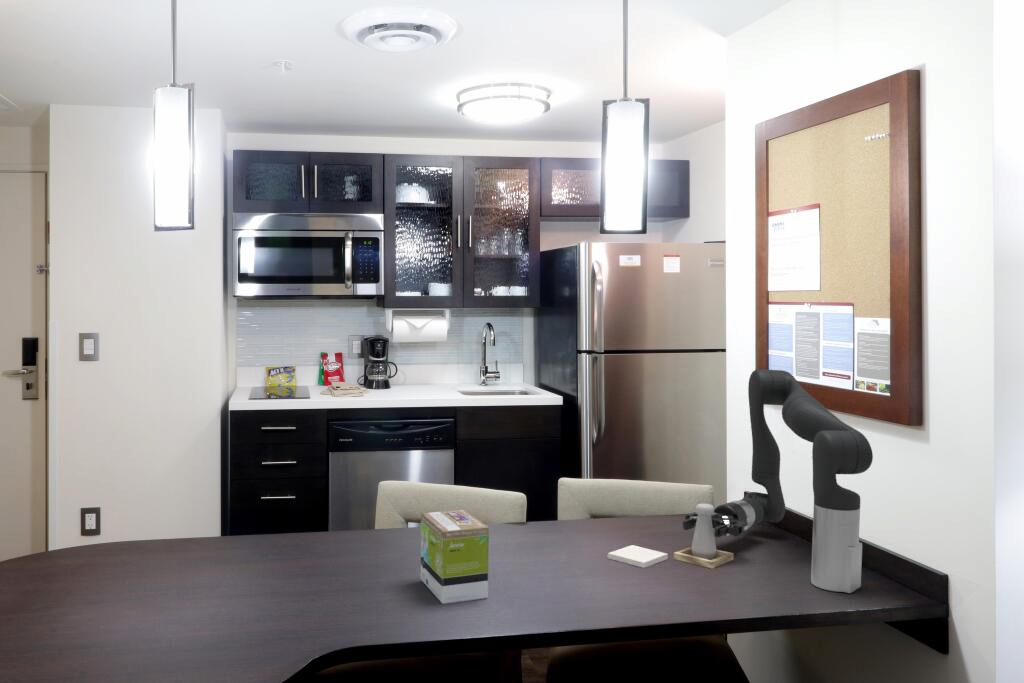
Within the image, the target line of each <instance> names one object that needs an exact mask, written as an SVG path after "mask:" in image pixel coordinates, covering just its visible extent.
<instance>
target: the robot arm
mask: <svg viewBox="0 0 1024 683" xmlns="http://www.w3.org/2000/svg"><path fill="white" fill-rule="evenodd" d="M747 387H748V391H747V393H748V404H749V405H748V406H749V407H748V408H749V419H750V420H749V421H750V430H751V439H752V458H751V460H752V461H751V480H752V482H753V483H754V484H757V485H760V486H762V487H763V488H764V489H765V491H766V493H763V492H757V491H751V492H747V493H746V494H745V495H744V496H743V498H742V499H739V500H734V501H730V502H726V503H724V504H720V505H717V506H716V507H714V514H713V515H712V516H711V518H712V525H713V531H714V538H721V537H722V536H725V537H730V536H733V537H735V538H737V537H740V536H742V535H744V534H747V533H748V529H750V528H752V527H754V526H757V525H758V524H759V523H761V522H762V521H764V522H768V523H769V522H770V523H775V524H776V523H779V522H780V521H781V520H783V519H784V516H785V513H786V503H785V498H784V495H783V491H782V485H781V480H780V471H781V452H780V448H779V445H778V442H777V441H776V439H775V437H774V435H773V433H772V431H771V429H770V428H769V426H768V423H767V421H766V417H765V408H764V407H765V405H767V406H782V408H781V416H782V420H783V422H784V424H785V425H786V426H787V427H788V429H790V430H791V431H792V432H793V433H794V434H795V435H796V436H797V437H799V438H800V439H803V440H805V441H807V442H810V443H812V456H811V459H812V491H813V515H812V516H813V518H812V519H813V520H812V542H811V543H812V544H811V568H810V569H811V570H810V582H811V583H810V584H812V585H813V586H815V587H816V588H819V589H822V590H825V591H831V592H836V593H837V592H838V593H839V592H840V593H848V594H851V593H854V592H855V591H856V590H858V589H859V588H861V586H862V560H863V542H860V519H861V518H860V517H861V496H860V495H859V494H858V493H857V492H856V491H854V490H851V489H848V488H846V487H843V486H841V485H840V484H838V482H837V475H860V474H863V473H865V472H866V471H868V469H870V467H871V466H872V464H873V458H874V456H873V449H872V447H871V444H870V442H869V440H868V439H867V437H866V436H865V435H864V434H863V433H862V432H861V431H859V430H857V429H856V428H854V427H852V426H851V425H849V424H848V423H845V422H844V421H842V420H841V419H840V418H838V417H837V416H835V414H834V413H832V412H831V411H830V410H828V409H827V408H826V407H825V406H824V405H823V404H822V403H821V402H819V401H818V400H817V399H816V398H815V397H813V396H812V395H810V394H809V392H807V391H806V390H805V389H804V388H803V386H801V384H800V383H799V382H798V381H797V379H796V378H795V377H794V376H793V375H792V374H791V373H790V372H789V371H786V370H780V369H761V368H760V369H754V370H753V371H752V372H751V374H750V376H749V380H748V386H747ZM697 517H698V514H696V512H695V511H694V512H691V513H687V514H684V520H683V521H682V528H683V530H685V531H688V530H689V531H690V530H691V529H695V527H696V522H697Z"/></svg>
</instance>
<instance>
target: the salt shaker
mask: <svg viewBox="0 0 1024 683" xmlns="http://www.w3.org/2000/svg"><path fill="white" fill-rule="evenodd" d="M714 509H715V507H714V505H712V504H709V503H698V504H696V505H695V510H694V512H696V514H698V517H697V522H696V527H695V528H694V531H693V532H694V534H693V538H692V542H691V546H692V547H691V551H692V554H691V555H692V556H695V557H699V558H703V559H707V560H713V559H715V558H714V556H715V554H716V550H718V549H717V544H716V539H715V538H716V537H715V531H714V530H713V525H712V518H711V516H712V515H713V514H714Z"/></svg>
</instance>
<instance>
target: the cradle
mask: <svg viewBox="0 0 1024 683" xmlns="http://www.w3.org/2000/svg"><path fill="white" fill-rule="evenodd" d="M691 547H692V545H691V546H688V547H685V548H683V549H680V550H678V551H674V552H673V560H676V561H680V562H684V563H688V564H692V565H697V566H699V567H700V566H701V567H703V568H706V569H711V570H712V569H715V568H717V567H720V566H721V565H724V564H727V563H729V562H732V561H733V560H734V552H729V551H725V550H722V549H717V550H716V554H715V556H714V557H715V558H713V560H707V559H703V558H699V557H695V556H693V554H692V551H691Z"/></svg>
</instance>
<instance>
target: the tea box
mask: <svg viewBox="0 0 1024 683" xmlns="http://www.w3.org/2000/svg"><path fill="white" fill-rule="evenodd" d="M420 517H421V518H420V580H421V581H422V583H423V584H425V586H426V588H428V589H429V590H430V591H431V593H432V594H433V595H434V596H435V597H436V599H438V601H439V602H440V603H441V604H442V605H444V604H445V605H446V604H455V603H459V602H460V603H461V602H469V601H475V600H482V599H487V598H488V595H489V544H490V543H489V540H490V539H489V538H490V534H489V532H490V528H489V526H488V525H486V524H485V523H484V522H482V521H480V520H479V519H478V518H476V517H475V516H474V515H472V514H471V513H469V512H468V511H467V510H465V509H454V510H444V511H434V512H433V511H432V512H421V516H420Z"/></svg>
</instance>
